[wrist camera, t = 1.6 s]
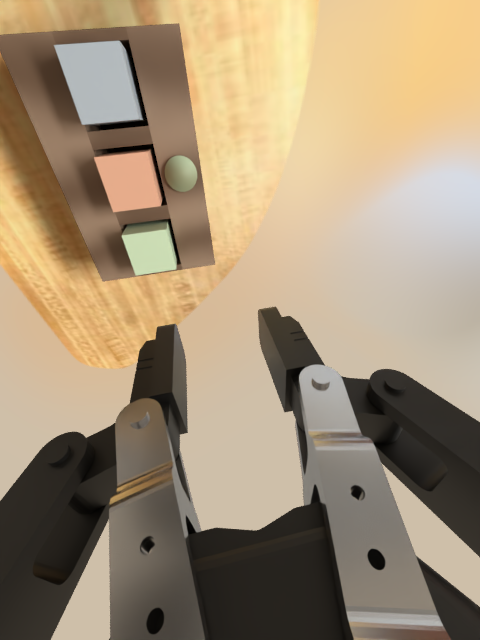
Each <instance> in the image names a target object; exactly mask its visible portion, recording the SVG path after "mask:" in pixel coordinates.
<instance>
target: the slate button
mask: <svg viewBox="0 0 480 640" xmlns="http://www.w3.org/2000/svg"><path fill="white" fill-rule="evenodd" d="M54 47H55V50H56V53H57V55H58V58H59V61H60V64H61V67H62V70H63V72H64V75H65V78H66V81H67V84H68V86H69V89H70V92H71V95H72V98H73V101H74V103H75V106H76V109H77V112H78V115H79V117H80V120H81V123H82V125H108V124H118V123H128V122H139V121H146V120H145V116H144V112H143V107H142V103H141V99H140V95H139V91H138V86H137V82H136V78H135V74H134V69H133V65H132V61H131V57H130V55H129V53H128V52H127V51H126V49H125V48H124V46H123V45H122V43H121V42H120V41H106V42H91V43H76V44H62V45H54Z"/></svg>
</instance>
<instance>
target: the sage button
mask: <svg viewBox="0 0 480 640" xmlns="http://www.w3.org/2000/svg"><path fill="white" fill-rule="evenodd" d="M122 238H123V241H124V244H125V247H126V250H127V252H128V255H129V258H130V261H131V264H132V267H133V269H134V272H135V275H136V276H137V275H143V274H150V273H156V272H163V271H169V270H176V265H177V251H176V247H175V242H174V238H173V234H172V230H171V226H170V221H169V219H162V220H154V221H147V222H139V223H132V224H128V225H127V227H126V228H125V230H124V232H123V234H122Z"/></svg>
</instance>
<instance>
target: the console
mask: <svg viewBox="0 0 480 640" xmlns="http://www.w3.org/2000/svg"><path fill="white" fill-rule="evenodd" d="M106 41H120V42H121V43H122V45H123V46H124V48H125V49H126V51H127V52H128V53H129V55H130V56H133V60H134V64H135V68H136V73H137V77H138V81H139V86H140V90H141V94H142V98H143V103H144V107H145V111H146V116H147V120H148V124H149V126H142V127H132V128H122V129H112V130H101V127H100V125H82V123H81V120H80V117H79V115H78V112H77V109H76V106H75V103H74V101H73V98H72V95H71V92H70V89H69V86H68V84H67V81H66V78H65V75H64V72H63V70H62V67H61V64H60V61H59V58H58V55H57V53H56V50H55V47H54V45H62V44H76V43H91V42H106ZM0 52H1V54H2V57H3V59H4V61H5V63H6V66H7V68H8V70H9V72H10V75H11V77H12V79H13V81H14V84H15V86H16V88H17V90H18V92H19V95H20V97H21V99H22V101H23V104H24V106H25V108H26V110H27V113H28V115H29V117H30V119H31V122H32V124H33V126H34V128H35V131H36V133H37V135H38V137H39V140H40V142H41V144H42V146H43V149H44V151H45V153H46V155H47V158H48V160H49V162H50V164H51V167H52V169H53V171H54V173H55V176H56V178H57V180H58V182H59V184H60V187H61V189H62V191H63V193H64V196H65V198H66V200H67V202H68V205H69V207H70V209H71V211H72V214H73V216H74V218H75V220H76V223H77V225H78V227H79V229H80V232H81V234H82V236H83V238H84V241H85V243H86V245H87V247H88V250H89V252H90V254H91V256H92V259H93V261H94V263H95V265H96V267H97V270H98V272H99V274H100V276H101V279H102V281H103V282H104V281H110V280H117V279H123V278H130V277H136V275H135V272H134V269H133V267H132V264H131V261H130V258H129V255H128V252H127V250H126V247H125V244H124V241H123V238H122V234H123V232H124V230H125V228H126V227H127V225H128V224H132V223H139V222H147V221H154V220H162V219H169V218H171V223H172V227H173V231H174V236H175V240H176V244H177V248H176V251H177V265H176V270H182V269H188V268H195V267H201V266H208V265H215V260H214V254H213V247H212V240H211V233H210V227H209V220H208V213H207V207H206V200H205V193H204V187H203V180H202V173H201V167H200V160H199V153H198V146H197V140H196V133H195V126H194V120H193V113H192V106H191V100H190V93H189V86H188V80H187V73H186V66H185V59H184V53H183V46H182V39H181V33H180V26H179V24H163V25H148V26H132V27H116V28H100V29H85V30H69V31H53V32H37V33H22V34H6V35H0ZM146 144H153V146H154V150H155V154H156V158H157V163H158V167H159V171H160V176H161V180H162V184H163V188H164V193H165V195H163V199H162V203H161V206H158V207H151V208H143V209H135V210H127V211H120V212H113V210H112V207H111V205H110V202H109V199H108V196H107V193H106V191H105V188H104V185H103V182H102V179H101V176H100V174H99V171H98V168H97V165H96V162H95V160H94V157H97V156H100V155H103V154H106V153H109V152H108V148H118V147H127V146H137V145H146ZM169 271H175V270H169ZM169 271H163V272H169ZM156 273H162V272H156ZM156 273H150V274H156ZM143 275H149V274H143ZM143 275H137V276H143Z"/></svg>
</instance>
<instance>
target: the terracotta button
mask: <svg viewBox="0 0 480 640" xmlns="http://www.w3.org/2000/svg"><path fill="white" fill-rule="evenodd" d="M94 160H95V162H96V165H97V168H98V171H99V174H100V176H101V179H102V182H103V185H104V188H105V191H106V193H107V196H108V199H109V202H110V205H111V207H112V210H113V212H120V211H127V210H135V209H143V208H151V207H158V206H161V203H162V199H163V192H162V188H161V183H160V179H159V175H158V171H157V167H156V162H155V158H154V154H153V150H152V148H150V149H141V150H132V151H122V152H113V153H106V154H103V155H100V156H97V157H94Z"/></svg>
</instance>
